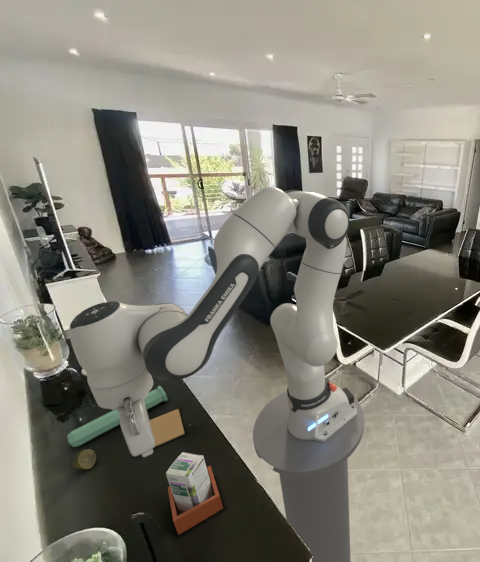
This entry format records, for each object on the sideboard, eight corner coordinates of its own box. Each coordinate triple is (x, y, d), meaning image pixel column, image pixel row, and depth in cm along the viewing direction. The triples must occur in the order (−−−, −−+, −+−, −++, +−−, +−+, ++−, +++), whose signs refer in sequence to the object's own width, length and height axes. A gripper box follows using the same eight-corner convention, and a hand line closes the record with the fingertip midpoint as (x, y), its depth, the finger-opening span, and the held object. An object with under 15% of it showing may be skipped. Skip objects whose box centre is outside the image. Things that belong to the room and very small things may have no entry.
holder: (213, 478, 85) (210, 465, 83) (223, 508, 78) (219, 495, 76) (172, 500, 80) (167, 487, 78) (178, 535, 73) (173, 521, 71)
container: (63, 436, 89) (162, 386, 107) (62, 431, 93) (157, 384, 111) (73, 454, 90) (169, 402, 108) (71, 448, 94) (164, 399, 112)
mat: (178, 409, 106) (178, 408, 106) (184, 434, 98) (184, 432, 98) (134, 427, 100) (134, 426, 100) (137, 455, 91) (136, 453, 91)
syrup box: (178, 514, 77) (163, 474, 71) (194, 490, 82) (181, 450, 76) (200, 518, 76) (187, 477, 70) (215, 493, 81) (204, 454, 76)
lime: (97, 455, 91) (91, 442, 89) (99, 466, 88) (92, 454, 86) (76, 465, 88) (69, 452, 86) (77, 477, 85) (70, 464, 83)
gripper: (152, 408, 55) (172, 463, 61) (136, 353, 69) (153, 401, 75) (106, 428, 51) (132, 484, 57) (99, 365, 66) (120, 415, 71)
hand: (144, 437), depth 66 cm, fingers open, 8 cm apart
